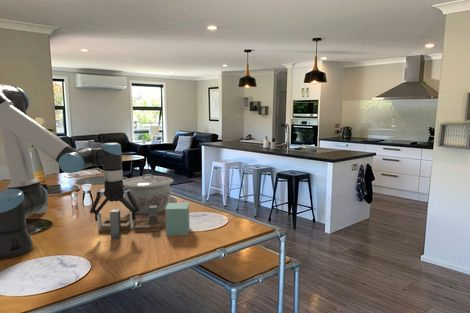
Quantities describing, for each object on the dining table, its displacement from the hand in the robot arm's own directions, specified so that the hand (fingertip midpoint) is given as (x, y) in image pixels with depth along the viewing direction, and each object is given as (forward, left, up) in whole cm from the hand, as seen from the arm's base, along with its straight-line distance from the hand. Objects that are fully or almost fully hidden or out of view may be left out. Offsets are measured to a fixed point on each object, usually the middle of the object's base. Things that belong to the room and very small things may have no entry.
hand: (116, 227), depth 145 cm
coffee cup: (+39, +50, -5) cm, 64 cm away
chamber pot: (+38, -7, -5) cm, 39 cm away
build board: (+12, +3, -4) cm, 13 cm away
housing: (+6, -26, -4) cm, 27 cm away
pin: (0, 0, -4) cm, 4 cm away
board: (+12, -12, -4) cm, 17 cm away
